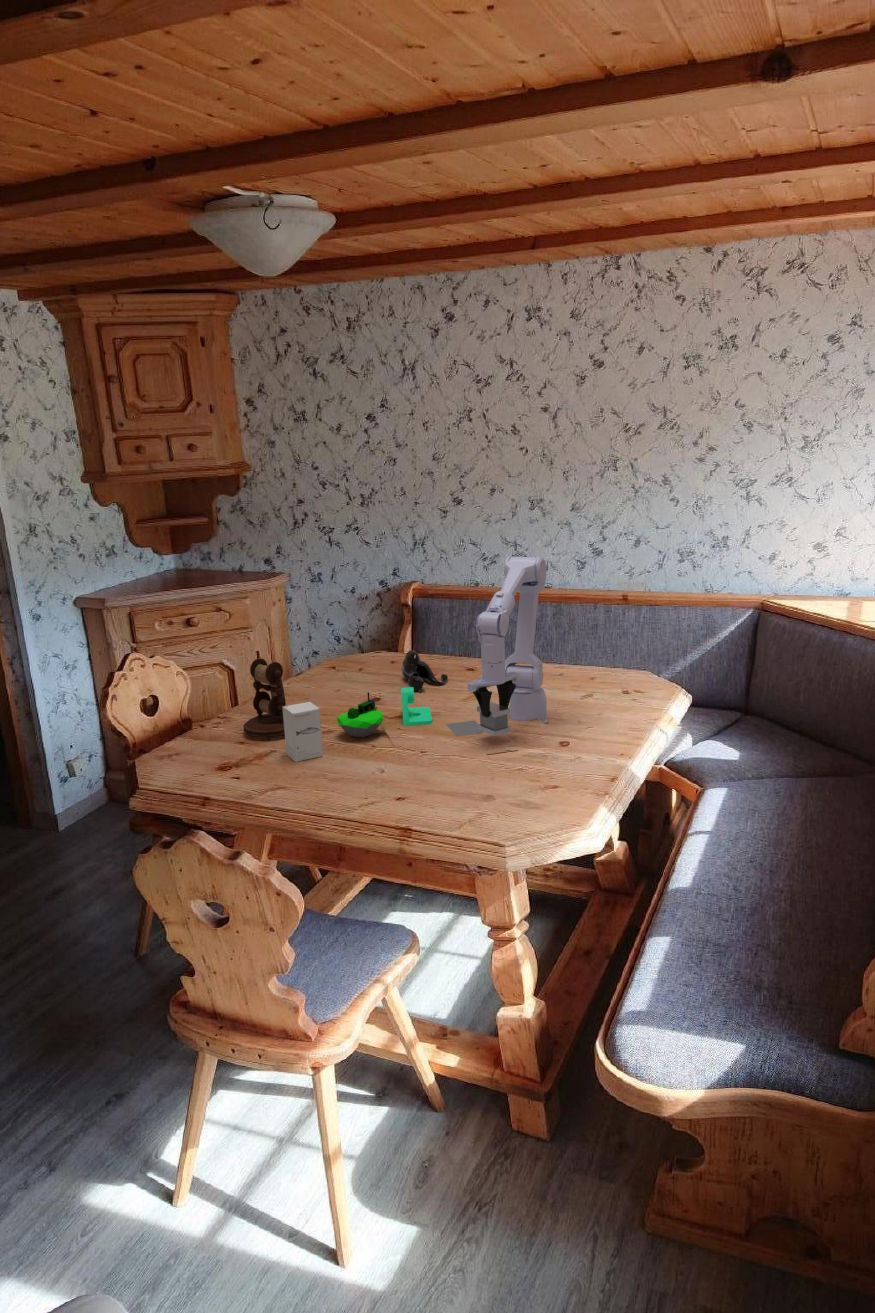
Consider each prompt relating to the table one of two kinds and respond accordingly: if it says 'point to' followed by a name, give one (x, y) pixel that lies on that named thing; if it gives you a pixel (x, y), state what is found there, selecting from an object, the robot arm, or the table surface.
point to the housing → (495, 720)
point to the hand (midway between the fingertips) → (494, 713)
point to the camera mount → (413, 710)
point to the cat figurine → (418, 672)
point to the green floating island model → (361, 719)
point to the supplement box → (302, 731)
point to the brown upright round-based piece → (267, 700)
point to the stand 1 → (464, 728)
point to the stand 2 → (496, 742)
